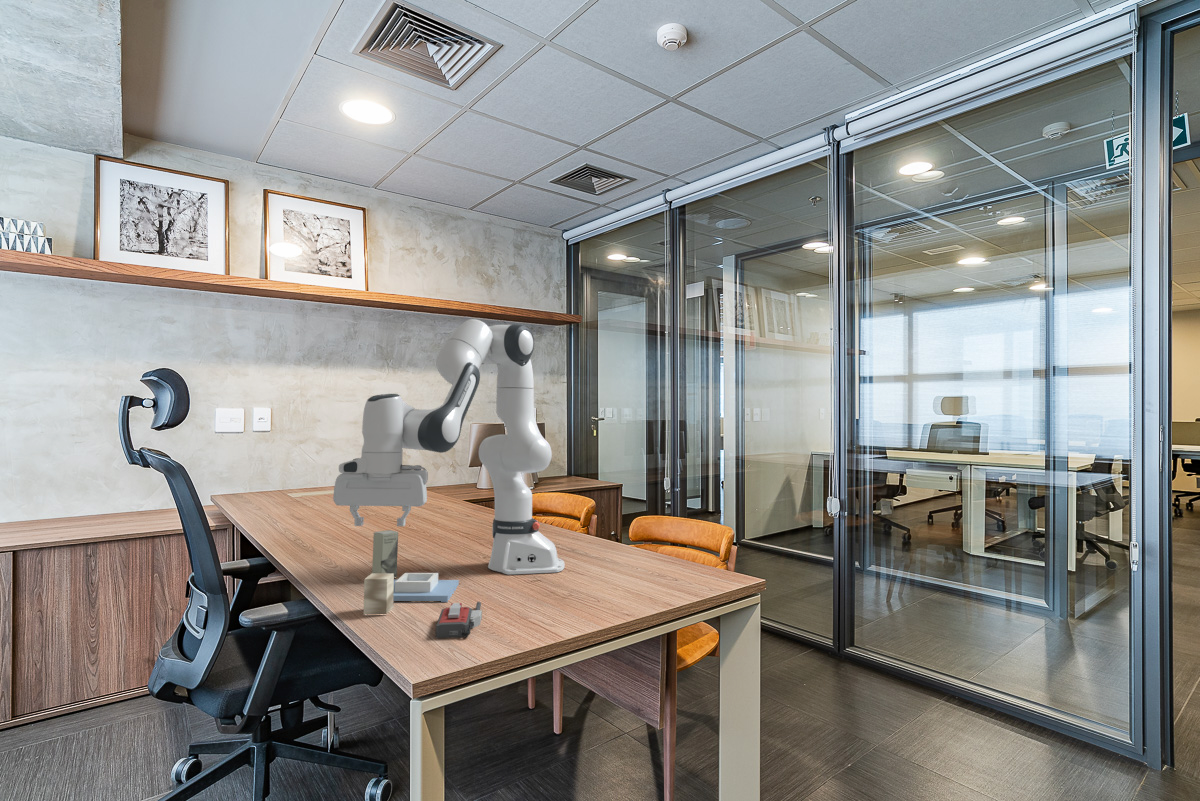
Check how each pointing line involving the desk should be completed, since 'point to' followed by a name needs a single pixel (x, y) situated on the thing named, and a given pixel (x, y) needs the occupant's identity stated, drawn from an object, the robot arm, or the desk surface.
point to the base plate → (423, 587)
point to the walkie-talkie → (458, 621)
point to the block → (378, 593)
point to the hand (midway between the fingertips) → (380, 525)
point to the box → (385, 552)
